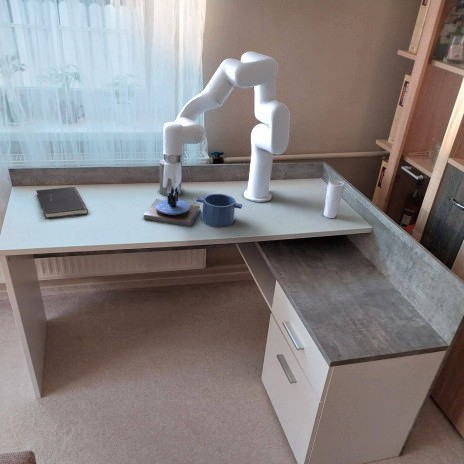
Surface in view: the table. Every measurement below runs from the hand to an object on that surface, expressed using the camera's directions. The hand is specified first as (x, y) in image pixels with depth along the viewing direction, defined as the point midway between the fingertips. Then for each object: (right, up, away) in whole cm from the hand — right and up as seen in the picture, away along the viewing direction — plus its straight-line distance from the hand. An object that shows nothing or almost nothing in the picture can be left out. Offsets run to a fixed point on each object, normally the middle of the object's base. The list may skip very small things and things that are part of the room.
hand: (172, 202), depth 193 cm
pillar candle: (-4, +9, +22) cm, 24 cm away
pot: (+18, -7, +3) cm, 19 cm away
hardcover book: (-45, -1, +2) cm, 45 cm away
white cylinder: (+66, -3, +15) cm, 68 cm away
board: (0, -4, +3) cm, 5 cm away
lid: (0, -2, +1) cm, 2 cm away
